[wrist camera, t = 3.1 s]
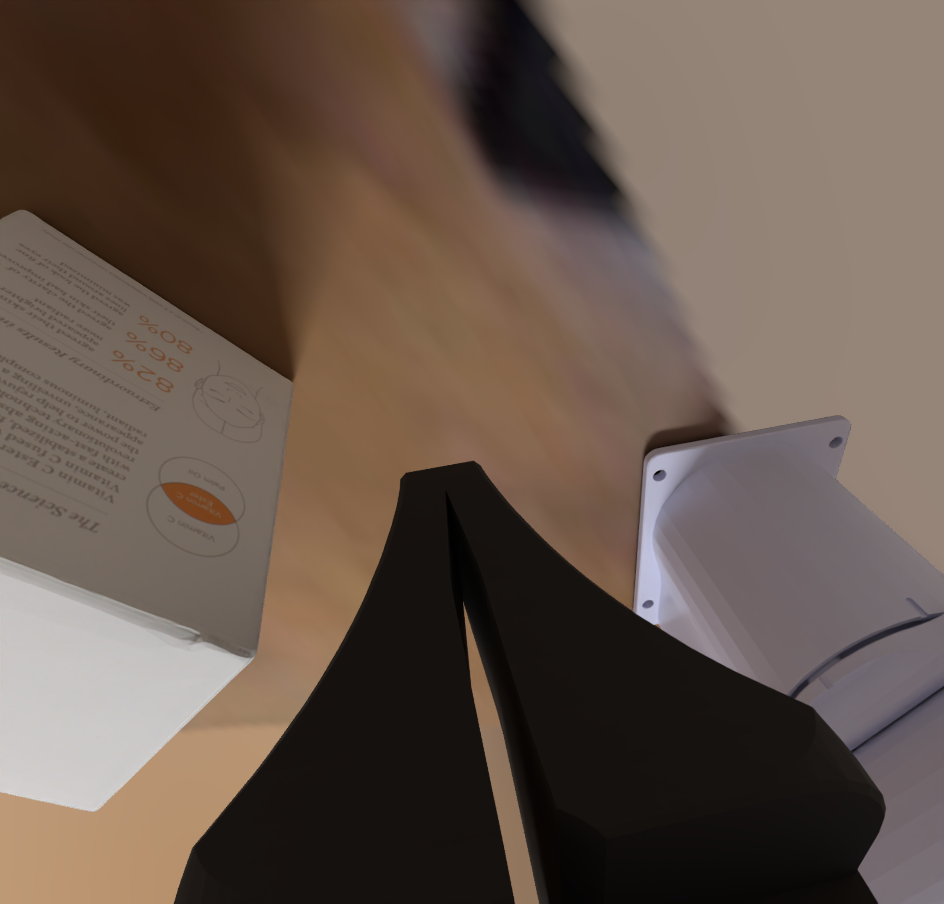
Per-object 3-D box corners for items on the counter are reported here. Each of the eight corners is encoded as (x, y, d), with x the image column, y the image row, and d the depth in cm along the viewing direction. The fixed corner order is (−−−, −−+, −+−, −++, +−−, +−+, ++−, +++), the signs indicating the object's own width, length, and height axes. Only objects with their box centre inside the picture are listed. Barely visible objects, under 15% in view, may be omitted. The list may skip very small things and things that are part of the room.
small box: (-68, 360, 17) (-520, 695, 8) (26, 199, 15) (-419, 400, 6) (203, 498, 21) (95, 825, 12) (301, 382, 19) (261, 665, 10)
